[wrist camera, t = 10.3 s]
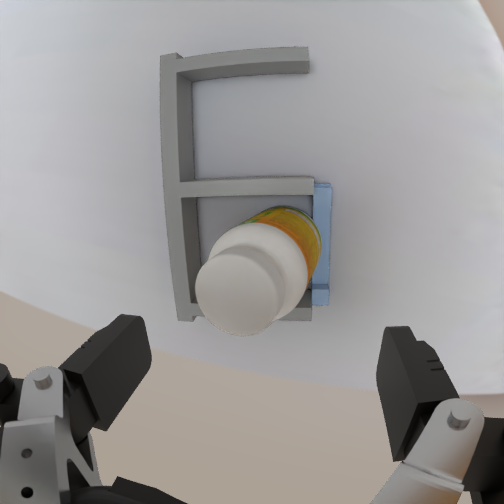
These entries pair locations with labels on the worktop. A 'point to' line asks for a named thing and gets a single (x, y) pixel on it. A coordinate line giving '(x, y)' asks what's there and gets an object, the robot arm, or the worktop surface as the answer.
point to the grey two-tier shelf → (188, 188)
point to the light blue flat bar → (322, 220)
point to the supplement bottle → (259, 270)
